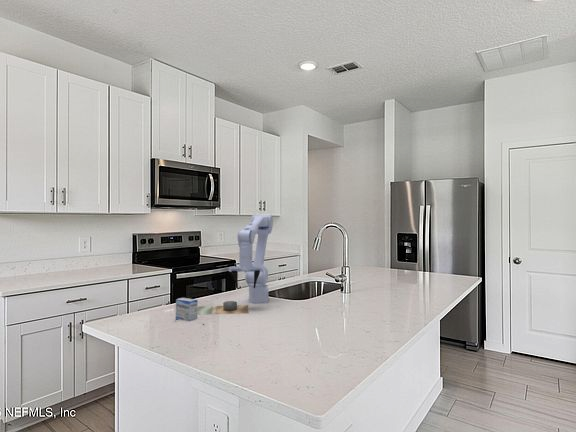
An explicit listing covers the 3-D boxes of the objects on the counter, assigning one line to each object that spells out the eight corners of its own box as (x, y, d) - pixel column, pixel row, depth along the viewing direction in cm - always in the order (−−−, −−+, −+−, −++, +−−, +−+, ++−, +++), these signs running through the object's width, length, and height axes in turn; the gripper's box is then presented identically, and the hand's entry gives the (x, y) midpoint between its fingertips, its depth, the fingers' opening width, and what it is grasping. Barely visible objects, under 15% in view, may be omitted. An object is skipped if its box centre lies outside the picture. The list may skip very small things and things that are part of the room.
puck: (237, 307, 169) (237, 300, 169) (236, 311, 163) (236, 304, 163) (223, 307, 169) (223, 301, 169) (222, 311, 163) (222, 304, 163)
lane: (248, 307, 174) (248, 305, 174) (248, 315, 160) (248, 313, 160) (186, 308, 171) (186, 306, 171) (180, 317, 157) (180, 314, 157)
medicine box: (175, 320, 152) (175, 299, 152) (183, 318, 156) (183, 297, 156) (190, 323, 148) (190, 301, 148) (197, 320, 152) (197, 299, 152)
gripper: (228, 258, 162) (228, 289, 161) (262, 258, 163) (262, 289, 162) (229, 256, 169) (229, 286, 168) (262, 256, 170) (262, 286, 169)
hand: (245, 288), depth 166 cm, fingers open, 7 cm apart
